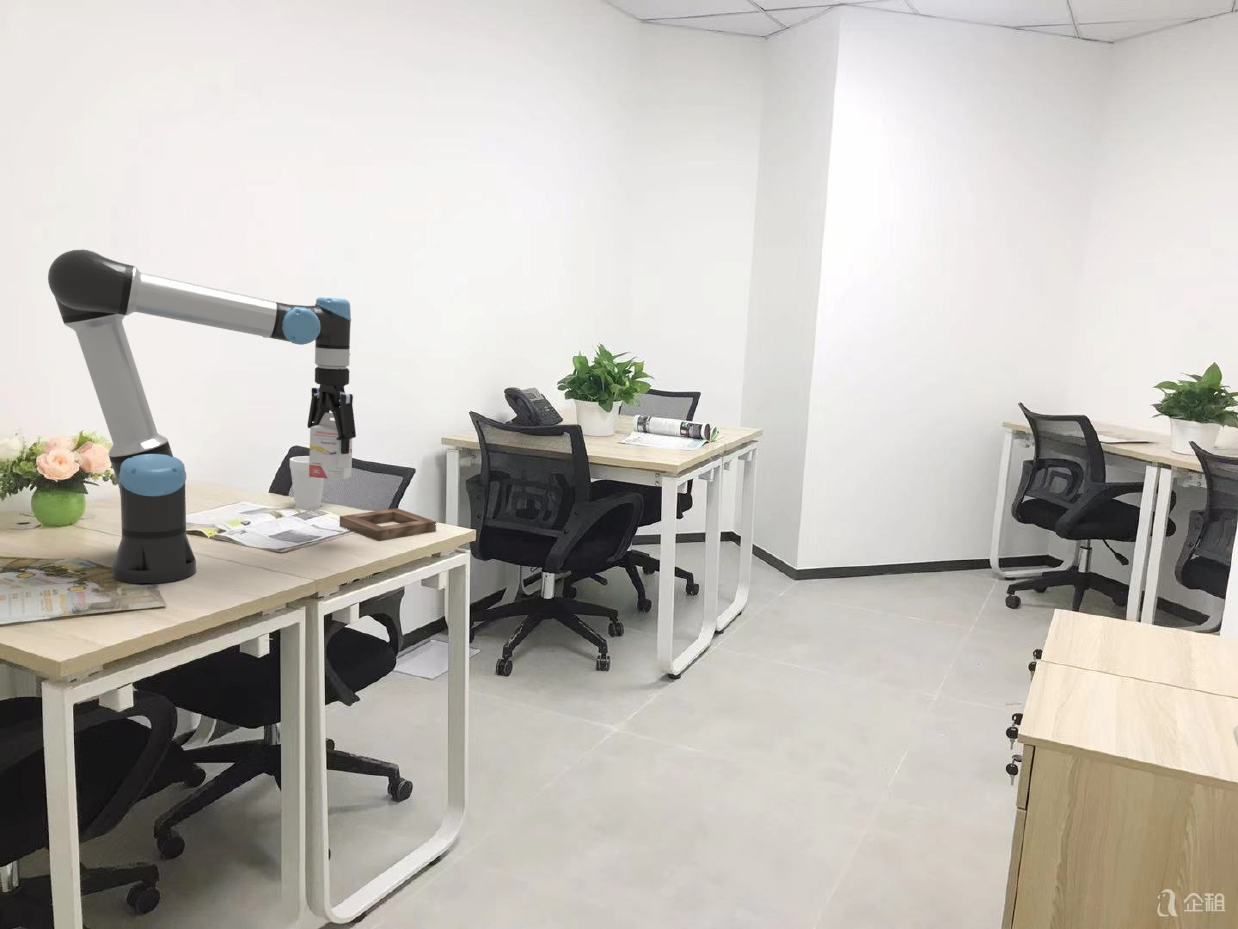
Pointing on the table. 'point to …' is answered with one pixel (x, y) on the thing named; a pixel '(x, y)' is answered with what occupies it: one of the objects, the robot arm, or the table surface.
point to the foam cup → (305, 484)
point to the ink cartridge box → (326, 451)
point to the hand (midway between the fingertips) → (330, 463)
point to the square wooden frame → (407, 526)
